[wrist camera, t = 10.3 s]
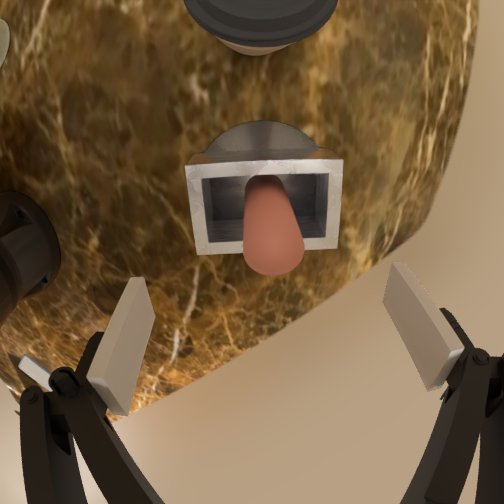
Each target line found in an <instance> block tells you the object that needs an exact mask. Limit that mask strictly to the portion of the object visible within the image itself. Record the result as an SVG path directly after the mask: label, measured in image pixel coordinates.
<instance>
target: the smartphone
mask: <svg viewBox="0 0 504 504" xmlns="http://www.w3.org/2000/svg"><path fill="white" fill-rule="evenodd" d="M18 366H19V368H20V369H21V370H22V371H24V372H25V373H26V374H27V375H29V376H30V377H31V378H33V379H34V380H35V381H36V382H38V383H39V384H40V385H42V386H43V387H44V388H46V389H47V390H49V391H50V392H51V391H52V389H51V388H50V387H49V385H48V380H49V377H50V375H51V374H52V373H50V372H49V371H48V370H46V369H45V368H44V367H42V366H41V365H40V364H38V363H37V362H36V361H35V360H33V359H32V358H31V357H30V356H28V355H27V354H24V356H23V357H22V359H21V361H20V363H19V365H18Z"/></svg>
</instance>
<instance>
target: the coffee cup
mask: <svg viewBox="0 0 504 504" xmlns="http://www.w3.org/2000/svg"><path fill="white" fill-rule="evenodd" d="M337 2H338V0H184V3H185V6H186V8H187V10H188V12H189V13H190V15H191V16H192V17H193V19H194V20H195V21H196V22H197V23H198V24H199V25H200V26H201V27H203V28H204V29H205V30H206V31H208V32H209V33H211V34H213V35H214V36H215V37H217V38H218V39H219V40H220V41H221V42H222V43H224V44H225V45H226V46H228V47H230V48H231V49H233V50H235V51H237V52H239V53H242V54H245V55H251V56H259V55H265V54H269V53H272V52H275V51H277V50H280V49H282V48H284V47H286V46H289V45H291V44H293V43H295V42H297V41H300V40H302V39H304V38H307V37H308V36H310V35H312V34H313V33H315V32H316V31H318V30H319V29H320V28H321V27H322V26H324V25H325V23H326V22H327V21H328V20H329V19H330V17H331V16H332V14H333V12H334V10H335V8H336V5H337Z"/></svg>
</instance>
